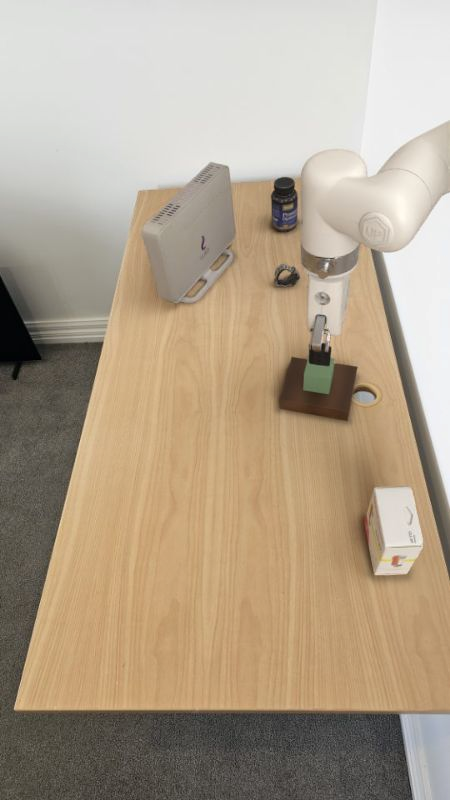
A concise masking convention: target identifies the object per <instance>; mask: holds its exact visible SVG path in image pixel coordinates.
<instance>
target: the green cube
mask: <svg viewBox="0 0 450 800" xmlns="http://www.w3.org/2000/svg"><path fill="white" fill-rule="evenodd" d="M307 359H308V360H307V364H306V368H305V372H304V384H303V390H306V391H312V392H318V393H324V394H329V392H330V387H331V383H332V378H333V372H334V363H336V358H335V357H331V359H330V366H320V365H314V364H310V363H309V355H308V357H307Z"/></svg>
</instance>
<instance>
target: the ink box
mask: <svg viewBox="0 0 450 800" xmlns="http://www.w3.org/2000/svg"><path fill="white" fill-rule="evenodd" d="M363 522H364V528H365V533H366V534H365V535H366V539H367V545H368V550H369V555H370V561H371V566H372V571H373V575H374V576H397V575H398V576H399V575H408V573H409V571H410V570H411V568H412V566H413V565H414V563H415V561H416V560H417V558H418V556H419V555H420V553H421V552H422V550H423V548H424V537H423V534H422V533H423V532H422V528H421V525H420V521H419V514H418V511H417V506H416V501H415V496H414V492H413V489H412V488H411V487H410V486H409V485H393V486H392V485H390V486H376V487H375V486H374V488H373V490H372V493H371V498H370V501H369V505H368V507H367V512H366V515H365V518H364V520H363Z"/></svg>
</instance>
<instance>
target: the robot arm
mask: <svg viewBox="0 0 450 800" xmlns="http://www.w3.org/2000/svg"><path fill="white" fill-rule="evenodd" d="M449 193H450V119H449V120H447V121H444V122H443V123H441V124H439V125H437V126H435V127H434V128H431V129H429V130H427V131H425V132H423V133H422V134H420V135H418V136H416V137H413V138H412V139H410V140H409V141H407V142H406V143H404V144H403V145H401V146H400V147H399V148H398V149H397V150H396V151H394V153H392V154H391V155H390V156H389V158H388V159H387V160H386V161H385V162H384V164H383V165H382V166H381V167H380V168H379V170H378V171H377V172H376V174H373V175H371V176H368V167H367V164H366V161H365V159H364V158H363V157H362V156H361V155H360V154H358V153H356V152H354V151H352V150H349V149H344V148H332V149H324V150H322V151H319V152H317V153H315V154H313V155H311V157H309V158H308V159H307V160H306V161H305V163H304V165H303V166H302V168H301V171H300V265H301V268H302V269H303V271H304V272H306V273H307V274H308V275H307V286H306V287H307V288H306V289H307V292H306V293H307V295H306V296H307V298H306V327H307V331H308V332H309V333H310V340H309V345H308V356H309V363H310V364H314V365H320V366H330V359H331V358H332V346H331V338H332V336H335V337H338V336H340V335H341V334H342V332H343V327H344V323H345V319H346V315H347V310H348V307H349V306H348V305H349V300H350V294H351V274H352V272H354V270H356V268H357V266H358V264H359V256H360V248H361V244H362V245H363V246H365V247H367V248H369V249H370V250H373V251H376V252H380V253H396V252H398V251H400V250H403V249H404V248H406V247H407V246H408V245H409V244H410V243H411V242H412V241H413V240H414V238H416V235H418V232H419V231H420V229H421V228H422V227H423V225H424V223H425V222H426V221H427V220H428V217H429V216H430V215H431V213H432V211H433V210H434V208H435V207H436V205H437V204H438V202H439V201H440V200H441V198H442V197H443V196H444V195H445V196H446V194H449ZM324 335H326V336H325V342H323V338H324Z"/></svg>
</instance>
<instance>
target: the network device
mask: <svg viewBox="0 0 450 800" xmlns="http://www.w3.org/2000/svg"><path fill="white" fill-rule="evenodd" d="M234 212H235V209H234V200H233V189H232V181H231V172H230V167H229V166H228V165H226V164H221V163H217V162H214V161H213V162H212V161H210V162H209V163H208V164H206V165H205V167H203V168H202V169H201V170H200V171H199V172H198V173H197V174H196V175H195V176H194V177H193V178H192V179H191V180H189V182H188V183H186V184H185V185H184V186H183V187H182V188H181V189H180V190H179V191H178V192H177V193H176V194H175V195H173V196H172V198H171V199H170V200H169V201H167V202H166V204H165V205H163V206H162V207H161V208H160V209H159V210H158V211H157V212H156V213H155V214H154V215H153V216H152V217H150V219H149V220H148V221H147V222H146V223H144V225H143V226H142V229H141V237H142V241H143V244H144V247H145V251H146V255H147V258H148V261H149V265H150V268H151V272H152V275H153V281H154V282H155V283H154V284H155V287H156V290H157V294H158V297H159V298H160V299H162V300H165V301H168V302H170V303H173V304H178V303H180V302H181V303H184V304H192V303H195V302H198V301H200V299H201V298H202V297H203V296H204V295H205V294H206V293H207V291H208V290H209V289H210V288H211V287H212V286H213V285H214V283H215V282H216V281H217V280H218V279H219V277H221V275H222V274H223V273H224V272H225V271H226V269H227V268H228V267H229V266H230V265H231V263H233V261H234V253H233V251H231V250H230V249H228V247H229V246H230V245H231V244H232V243H233V241H234V240H235V238H236V234H237V230H236V220H235V219H236V218H235V213H234ZM221 255H226V256H228V258H227V259H226V260H225V261H224V263H223V264H221V266H220V267H219V268H218V269H216V270H212V269H211V267H212V265H213V264H214V263H215V262H216V261H217V260H218V259H219V258H220V256H221ZM199 280H203V281H205V282H206V283H205V284H204V285H203V287H202V288H201V289H200V290H199V291H198V292H197V294H195V295H194V296H192V297H189V296H186V295H187V293H189V291H190V290H191V289H192V288H193V287H194V286H195V285H196V283H198V282H199Z"/></svg>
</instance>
